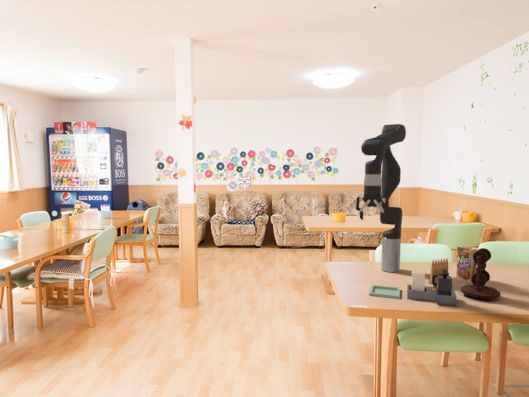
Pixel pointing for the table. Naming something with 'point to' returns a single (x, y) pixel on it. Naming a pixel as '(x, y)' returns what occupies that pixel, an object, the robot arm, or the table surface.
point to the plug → (418, 281)
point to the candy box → (465, 262)
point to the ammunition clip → (437, 270)
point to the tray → (385, 291)
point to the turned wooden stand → (480, 278)
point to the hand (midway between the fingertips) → (371, 220)
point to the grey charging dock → (436, 292)
